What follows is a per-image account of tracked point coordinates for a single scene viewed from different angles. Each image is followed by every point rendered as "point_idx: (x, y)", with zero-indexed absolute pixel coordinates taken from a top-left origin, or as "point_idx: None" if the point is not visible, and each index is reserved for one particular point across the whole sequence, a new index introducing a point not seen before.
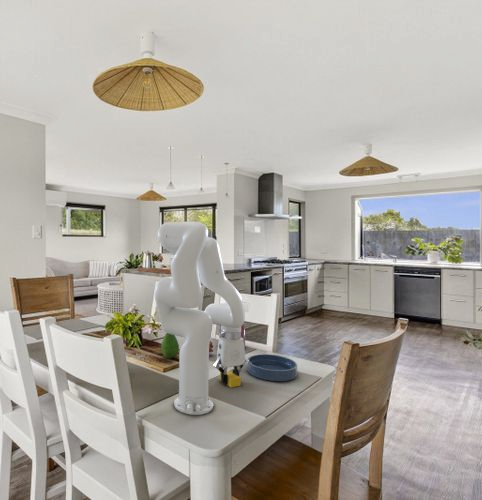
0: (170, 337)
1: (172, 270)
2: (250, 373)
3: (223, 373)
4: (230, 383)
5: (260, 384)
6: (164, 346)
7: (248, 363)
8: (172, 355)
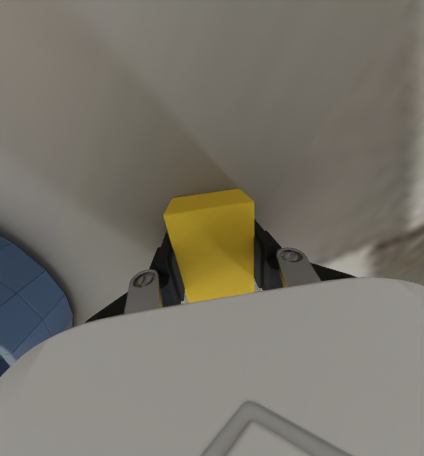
0: None
1: None
2: (64, 298)
3: (300, 256)
4: (246, 196)
5: (33, 179)
6: None
7: None
8: None
